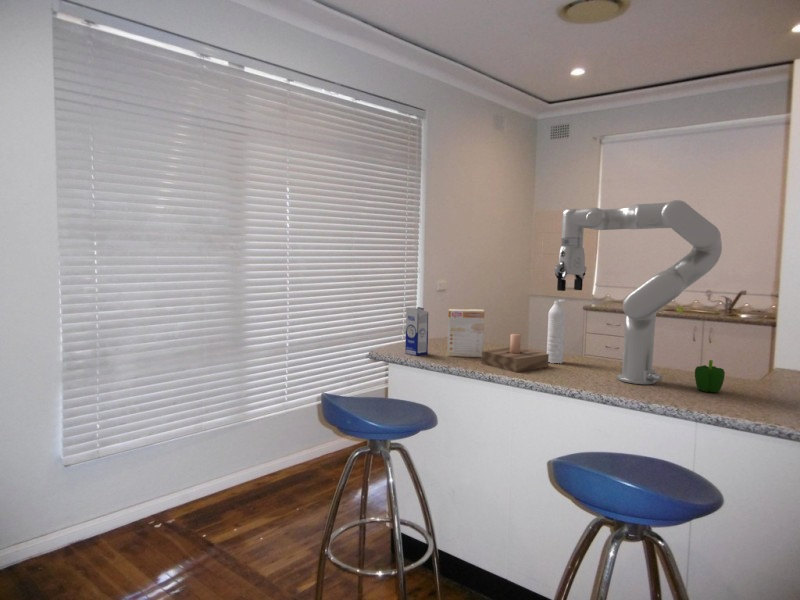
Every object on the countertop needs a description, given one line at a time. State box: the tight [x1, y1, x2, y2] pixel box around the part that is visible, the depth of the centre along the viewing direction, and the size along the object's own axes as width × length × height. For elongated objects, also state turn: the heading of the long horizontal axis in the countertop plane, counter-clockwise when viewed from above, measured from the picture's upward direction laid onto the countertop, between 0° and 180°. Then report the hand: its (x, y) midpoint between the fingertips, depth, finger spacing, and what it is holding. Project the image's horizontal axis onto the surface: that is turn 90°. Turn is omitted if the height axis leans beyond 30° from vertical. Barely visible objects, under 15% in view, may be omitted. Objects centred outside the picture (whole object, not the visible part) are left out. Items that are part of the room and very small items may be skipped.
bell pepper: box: [694, 359, 726, 393], centre depth 175 cm, size 8×8×10 cm
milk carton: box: [404, 306, 430, 357], centre depth 229 cm, size 7×7×20 cm
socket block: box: [480, 347, 549, 373], centre depth 210 cm, size 18×18×5 cm
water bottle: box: [546, 299, 566, 364], centre depth 218 cm, size 9×6×25 cm
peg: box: [509, 333, 522, 354], centre depth 210 cm, size 4×4×12 cm
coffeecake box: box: [447, 308, 485, 358], centre depth 228 cm, size 15×7×20 cm, turn 84°
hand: (569, 290), depth 198 cm, fingers open, 9 cm apart
